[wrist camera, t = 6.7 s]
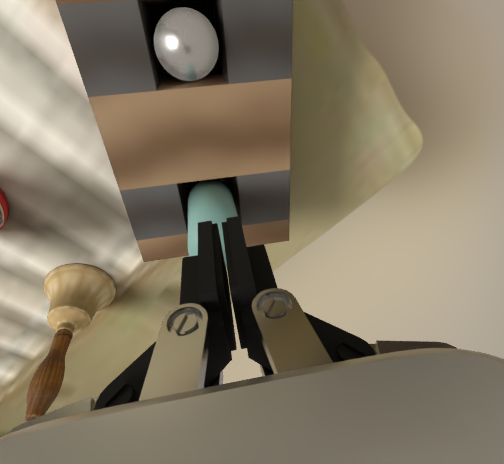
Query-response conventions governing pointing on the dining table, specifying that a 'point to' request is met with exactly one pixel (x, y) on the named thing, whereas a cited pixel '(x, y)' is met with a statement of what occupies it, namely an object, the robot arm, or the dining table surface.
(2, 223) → the canned food
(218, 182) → the teal peg
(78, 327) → the hand bell
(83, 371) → the dining table surface
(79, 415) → the robot arm
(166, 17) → the steel peg
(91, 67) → the socket block
